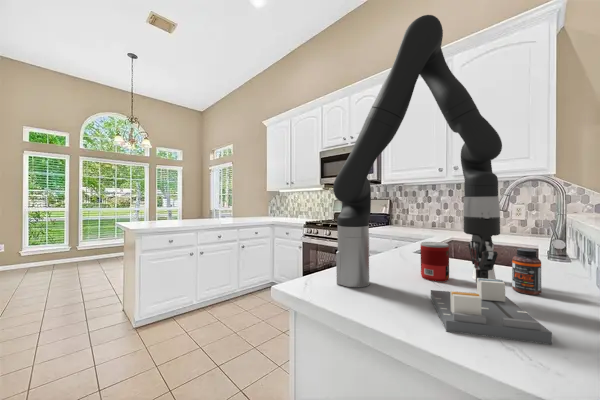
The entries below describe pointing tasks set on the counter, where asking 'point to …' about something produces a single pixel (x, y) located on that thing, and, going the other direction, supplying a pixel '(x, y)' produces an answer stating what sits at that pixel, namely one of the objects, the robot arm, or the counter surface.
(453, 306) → the fader
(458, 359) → the counter surface
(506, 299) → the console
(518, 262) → the supplement bottle
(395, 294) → the counter surface
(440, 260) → the canned food
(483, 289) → the fader
